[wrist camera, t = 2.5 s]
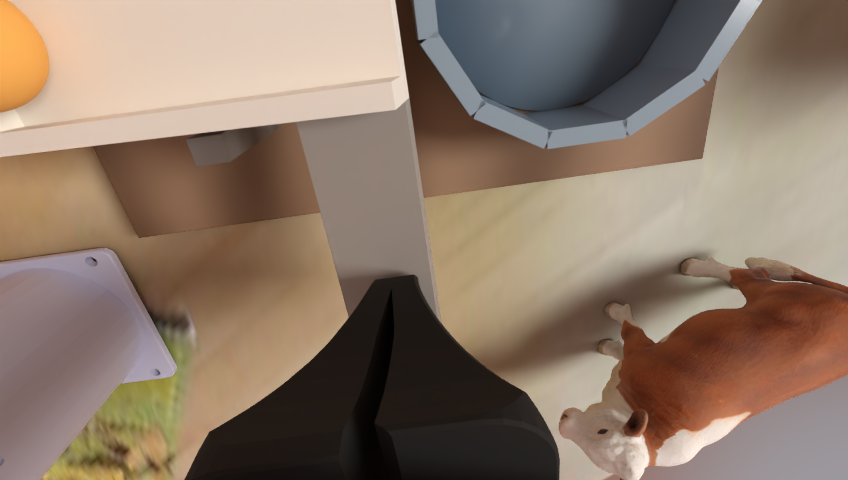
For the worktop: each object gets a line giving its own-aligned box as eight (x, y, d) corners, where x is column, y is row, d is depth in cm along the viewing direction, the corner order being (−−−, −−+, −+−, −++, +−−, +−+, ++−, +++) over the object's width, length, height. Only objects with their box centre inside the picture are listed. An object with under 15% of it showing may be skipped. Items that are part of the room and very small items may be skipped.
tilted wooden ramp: (169, 321, 17) (113, 373, 15) (-22, -49, 12) (-173, -71, 9) (446, 314, 15) (438, 373, 13) (384, -145, 9) (344, -211, 7)
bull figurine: (517, 330, 23) (569, 469, 15) (764, 218, 20) (969, 320, 13) (546, 379, 24) (605, 525, 17) (776, 282, 22) (962, 404, 15)
